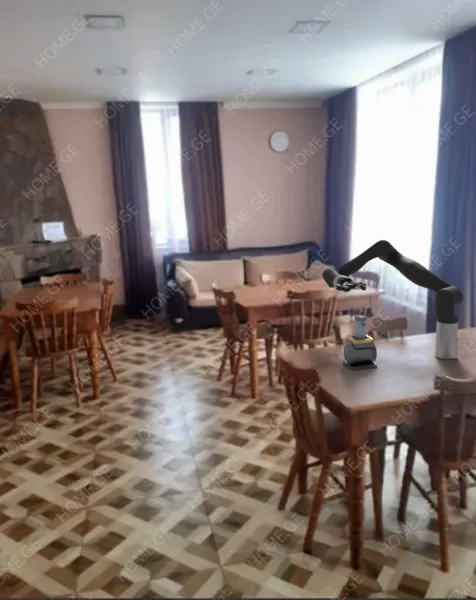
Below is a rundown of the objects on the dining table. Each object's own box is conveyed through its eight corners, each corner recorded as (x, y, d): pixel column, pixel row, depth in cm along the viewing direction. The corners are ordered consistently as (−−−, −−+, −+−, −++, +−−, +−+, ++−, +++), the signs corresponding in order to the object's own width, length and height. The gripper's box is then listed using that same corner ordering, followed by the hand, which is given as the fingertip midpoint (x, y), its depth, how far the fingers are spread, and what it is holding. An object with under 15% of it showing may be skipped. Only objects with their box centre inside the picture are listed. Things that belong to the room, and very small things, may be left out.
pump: (351, 338, 231) (352, 315, 228) (363, 337, 231) (364, 314, 229) (357, 343, 224) (358, 319, 221) (369, 342, 225) (370, 318, 222)
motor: (367, 360, 237) (367, 333, 234) (377, 367, 227) (377, 339, 224) (343, 363, 234) (343, 335, 232) (352, 370, 225) (352, 341, 222)
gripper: (330, 277, 255) (342, 282, 239) (356, 275, 258) (370, 280, 242) (330, 291, 257) (342, 297, 241) (356, 289, 259) (370, 295, 244)
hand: (356, 289), depth 242 cm, fingers open, 8 cm apart
